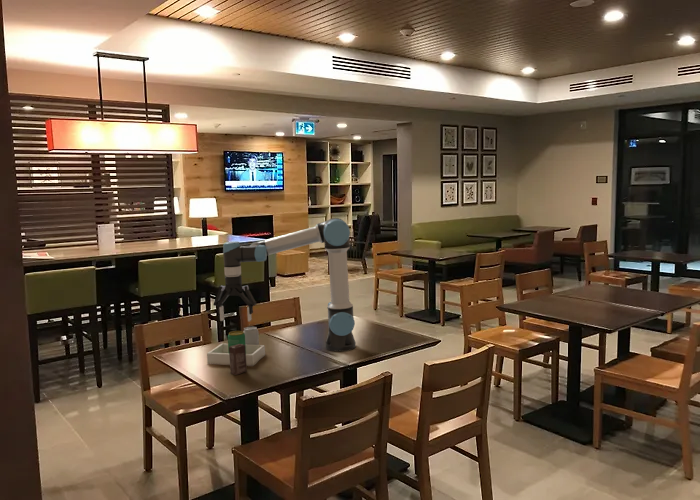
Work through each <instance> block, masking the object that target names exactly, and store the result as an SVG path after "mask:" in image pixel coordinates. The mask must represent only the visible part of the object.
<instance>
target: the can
mask: <svg viewBox="0 0 700 500" xmlns="http://www.w3.org/2000/svg"><path fill="white" fill-rule="evenodd" d="M243 332H244V334H245V343H246V344H247V345H260V340H259V339H260V337H259V330H258V328H257V326H247V327H243Z"/></svg>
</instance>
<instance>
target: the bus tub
mask: <svg viewBox="0 0 700 500" xmlns="http://www.w3.org/2000/svg"><path fill="white" fill-rule="evenodd" d="M265 356H266V345H264V344H259V345H247V344H246V366H248V367H254V366H256V364H257V363H259V362H260V361H261V359H263V358H264V357H265ZM206 358H207V362H206V363H207V365H208V364H209V365H221V366H222V365H223V366H224V365H225V366H230V356H229V353H228V343H220V344H219V345H217V346H216V347H214V348H213V349H211V350H209V351H208V352H207V353H206Z"/></svg>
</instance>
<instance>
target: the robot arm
mask: <svg viewBox="0 0 700 500" xmlns="http://www.w3.org/2000/svg"><path fill="white" fill-rule="evenodd" d="M350 233H351V230H350V226H349V225H348V224H347V222H346V221H345V220H343V219H341V218H339V217H332V218H330V219H327V220H325V221H323V222H318V223H316V225H315V226H313V227H308V228H305V229H301V230H297V231H293V232H289V233H286V234H282V235H279V236H274V237H270V238H268V239H264V240H260V241H254V242H252V243H251V244H250V245H240V242H239V241H226V242H224V243H223V247H222V248H223V249H222V255H223V266H224V268H223V270H224V283H225V285H219V287H218V291H217V294H216V297H215V300H214V302H213V303H212V304H213V306H215V307H217V314H219V321H220V322H223V321H225V313H224V312H225V309H224V305H223V304H224V302H225V301H226V300H227V299H228V298H229V296H231V297H232V296H234V297H235V296H236V297H237V296H238V297H239V298H241V300H242V301H243V302H244V303H245V304H246V305H247V306H248V307H247V309H246V310H247V311H246V313H247V322H251V321H253V319H252V318H253V317H252V315H253V313H254V307H255V306H257V304H258V303H257V301H256V300H255V298H254V296H253V294H252V291H251V290H250V287H249V284H247V285H243V279H242V265H241V263H248V262H249V263H251V262H252V263H254V262H257V263H258V262H259V263H260V262H266V261H267V256H270V255H274V254H277V253H280V252H284V251H288V250H289V251H290V250H292V249H297V248H300V247H305V246H309V245H311V244H315V243H321V244H322V243H323V244H324V250H325V251H326V252H327V256H328V270H329V286H330V287H329V288H330V301H329V302H328V304H327V321H328V322H327V324H328V325H327V326H328V327H327V329H328V333H327V337H326V339H325V344H324V348H325V349H326V350H327V351H332V352H333V351H334V352H347V351H351V350H354V349H356V346H357V345H356V340H355V337H354V334H353V330H354V328H355V324H356V322H355V318H354V305H353V303H351V301H350V289H349V288H350V287H349V272H348V269H349V268H348V253H347V252H348V250H349V249H350V247H351V245H350V235H351V234H350ZM224 291H226V292H225V294H224V295H223V293H224ZM243 291H244V292H245V293H244V292H243ZM245 294H246V295H245ZM222 295H223V296H222ZM221 297H222V298H221Z"/></svg>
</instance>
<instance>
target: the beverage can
mask: <svg viewBox="0 0 700 500" xmlns="http://www.w3.org/2000/svg"><path fill="white" fill-rule="evenodd" d="M243 331H244V330H243ZM243 331H242V330H235V331H234V330H233V331H230V332H228V335H227V344H228V353H229V347H230V346H234V345H237V344H243V345H245V351H246V343H245V334H244V332H243Z"/></svg>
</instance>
